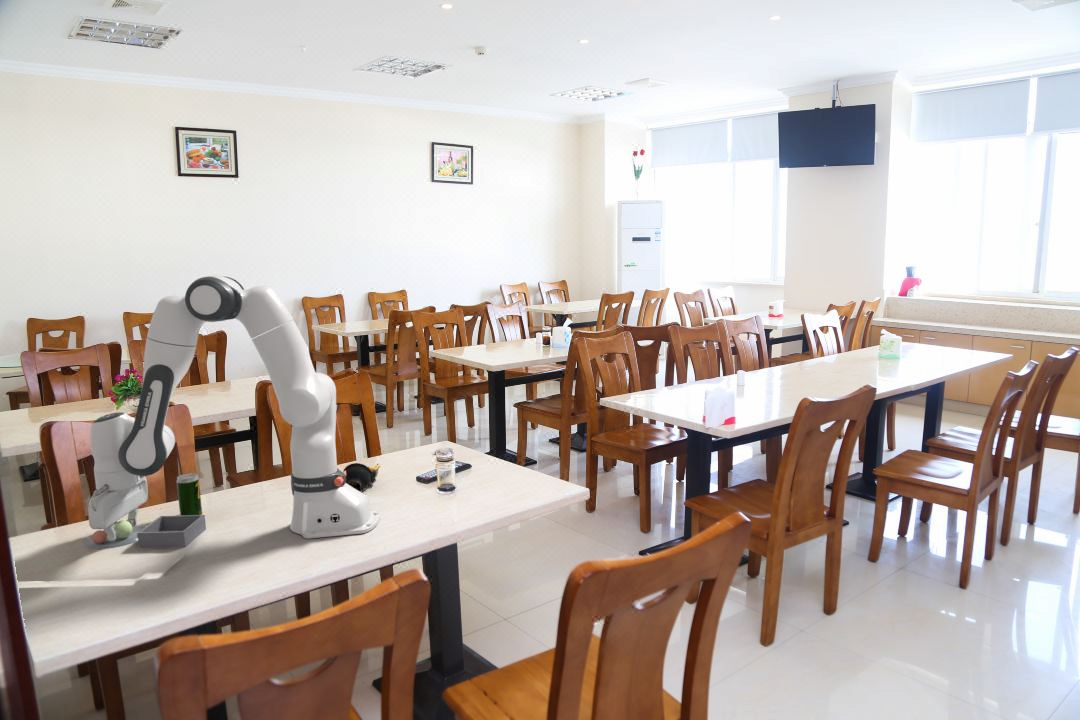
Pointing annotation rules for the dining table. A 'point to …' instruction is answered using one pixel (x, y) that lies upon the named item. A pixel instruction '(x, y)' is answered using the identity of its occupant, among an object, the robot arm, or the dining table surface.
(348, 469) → the fried shrimp in bowl
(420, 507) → the dining table surface
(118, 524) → the lettuce ball
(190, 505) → the beer can
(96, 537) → the tomato
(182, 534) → the bin
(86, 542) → the slate plate
